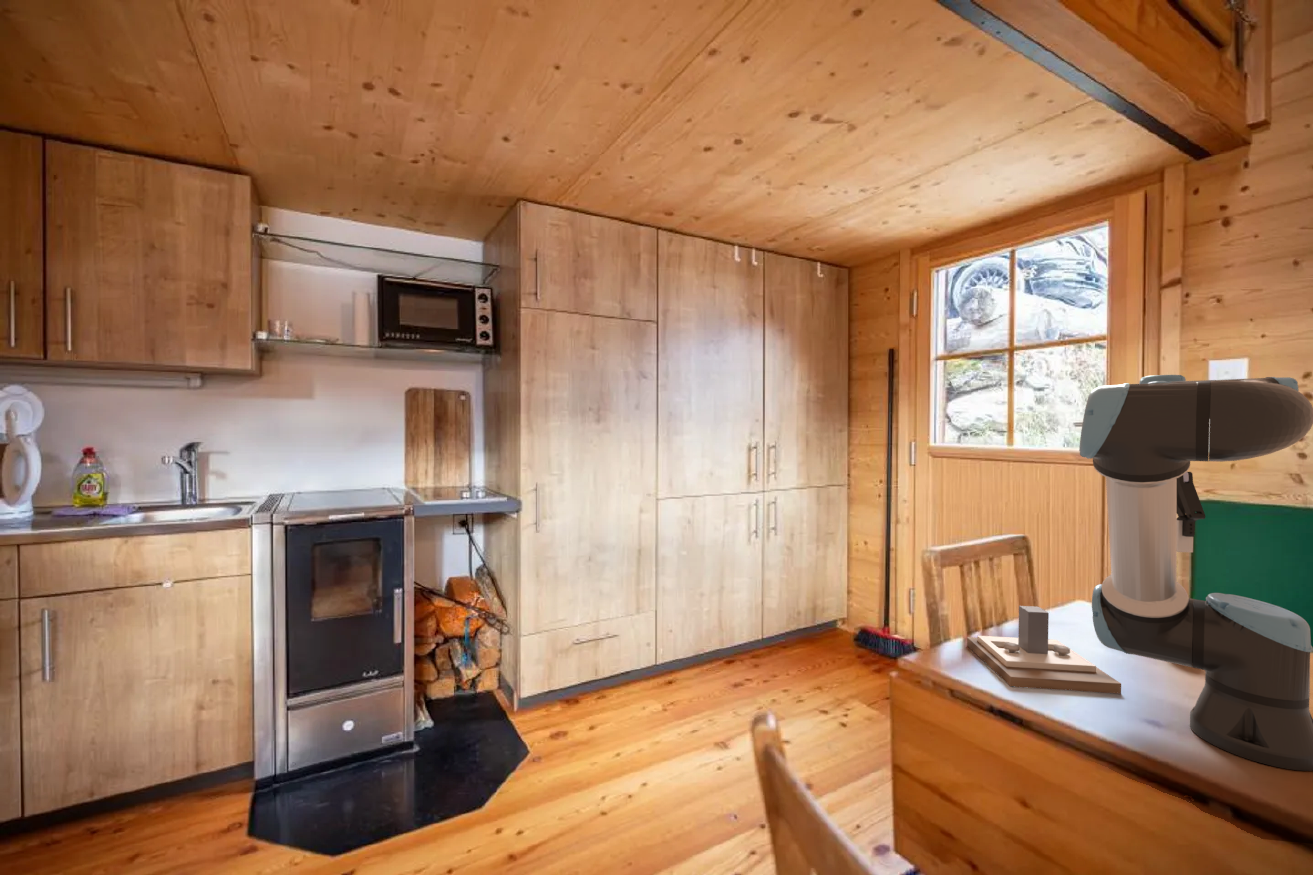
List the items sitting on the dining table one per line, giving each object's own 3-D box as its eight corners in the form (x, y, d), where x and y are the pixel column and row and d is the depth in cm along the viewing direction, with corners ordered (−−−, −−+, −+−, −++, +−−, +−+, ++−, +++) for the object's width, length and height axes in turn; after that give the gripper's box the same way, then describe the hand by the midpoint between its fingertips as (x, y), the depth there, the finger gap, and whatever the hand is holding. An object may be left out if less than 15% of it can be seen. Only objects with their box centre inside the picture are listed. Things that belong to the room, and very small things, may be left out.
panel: (1096, 671, 113) (1097, 622, 112) (1006, 666, 115) (1007, 618, 115) (1056, 644, 126) (1057, 600, 126) (977, 640, 129) (977, 597, 129)
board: (1121, 693, 108) (1121, 670, 107) (1010, 686, 110) (1011, 663, 110) (1058, 650, 128) (1058, 630, 128) (966, 645, 131) (967, 626, 131)
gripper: (1232, 449, 106) (1229, 559, 106) (1137, 445, 130) (1136, 534, 131) (1188, 449, 107) (1186, 557, 107) (1103, 444, 132) (1101, 533, 132)
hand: (1158, 544), depth 119 cm, fingers open, 13 cm apart
